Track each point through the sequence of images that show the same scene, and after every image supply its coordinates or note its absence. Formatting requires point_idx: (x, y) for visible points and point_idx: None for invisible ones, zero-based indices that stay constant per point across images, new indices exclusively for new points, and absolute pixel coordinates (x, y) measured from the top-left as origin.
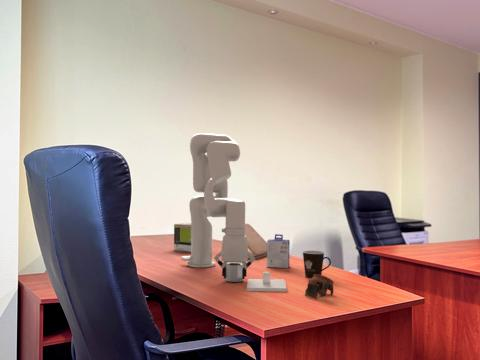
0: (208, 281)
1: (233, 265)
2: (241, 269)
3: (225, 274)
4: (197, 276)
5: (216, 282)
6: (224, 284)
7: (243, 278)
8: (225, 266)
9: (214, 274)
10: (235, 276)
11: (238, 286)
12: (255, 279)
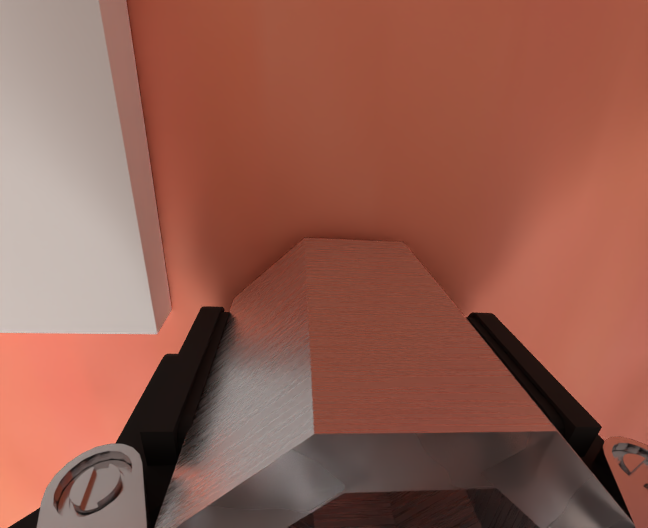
0: (622, 307)
1: (445, 486)
2: (216, 411)
3: (496, 348)
4: None
5: (552, 268)
6: (480, 168)
7: (214, 307)
8: None
9: None
10: (341, 270)
11: (284, 29)
12: (31, 301)
